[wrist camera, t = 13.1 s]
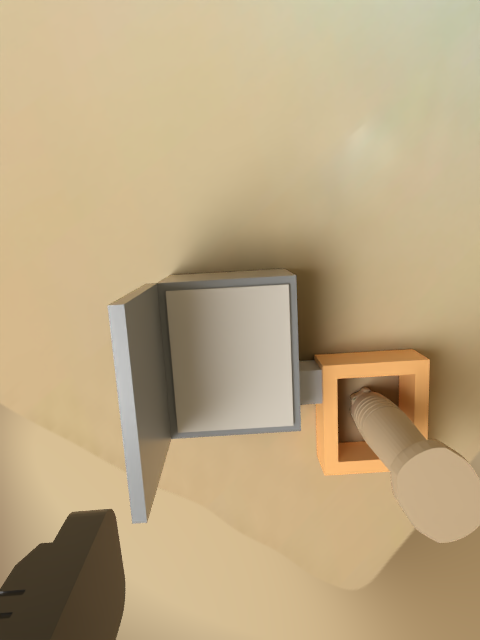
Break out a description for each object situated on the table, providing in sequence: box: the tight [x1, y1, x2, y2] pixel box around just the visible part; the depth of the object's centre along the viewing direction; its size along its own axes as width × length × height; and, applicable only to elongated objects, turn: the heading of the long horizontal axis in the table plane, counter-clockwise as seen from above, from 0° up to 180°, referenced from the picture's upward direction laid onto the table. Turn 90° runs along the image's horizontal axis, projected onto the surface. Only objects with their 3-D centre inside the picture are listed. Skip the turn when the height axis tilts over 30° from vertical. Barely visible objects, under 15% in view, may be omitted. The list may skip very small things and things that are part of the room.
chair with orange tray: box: [108, 268, 430, 523], centre depth 32 cm, size 18×22×17 cm
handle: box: [349, 387, 480, 543], centre depth 33 cm, size 5×6×15 cm
